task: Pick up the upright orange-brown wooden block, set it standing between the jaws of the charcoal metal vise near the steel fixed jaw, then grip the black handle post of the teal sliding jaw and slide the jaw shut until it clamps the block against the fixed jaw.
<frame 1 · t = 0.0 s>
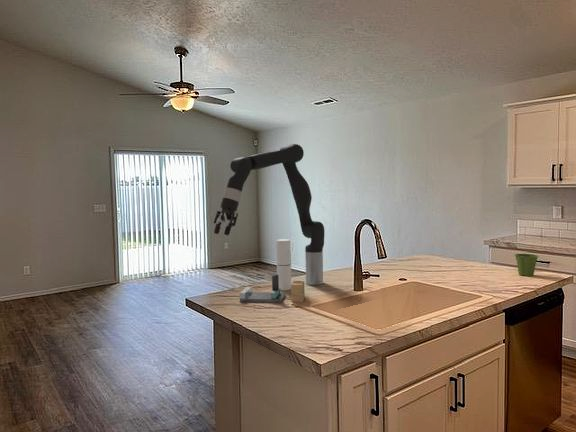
hand: (221, 234, 192), 31 cm above the counter, tool tilted 20°, fingers open, 8 cm apart
block: (298, 299, 199), on the counter
cylindrical container: (284, 289, 220), on the counter
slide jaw: (275, 285, 200), point 7 cm above the counter, slide at 0.0 cm
vise: (266, 298, 201), on the counter
plant pot: (525, 275, 241), on the counter
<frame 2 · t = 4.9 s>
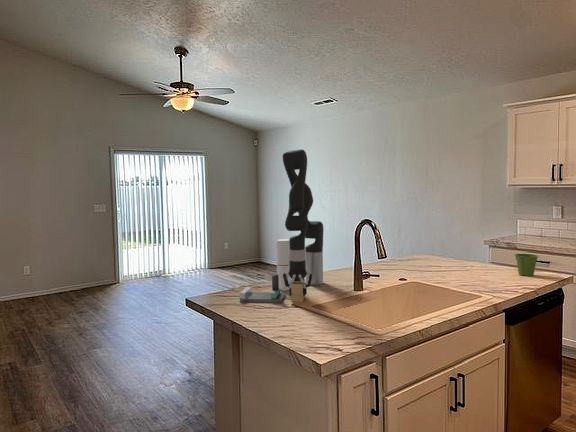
hand: (298, 295, 199), 2 cm above the counter, tool pointing down, fingers closed on block, 5 cm apart
block: (298, 299, 199), on the counter, touching gripper
everything else where it was.
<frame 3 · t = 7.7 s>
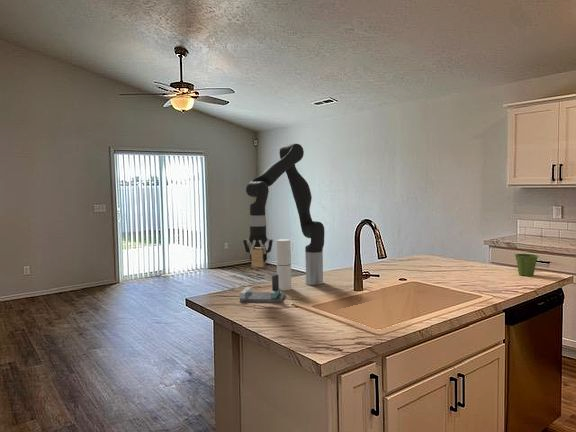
hand: (258, 261, 200), 18 cm above the counter, tool pointing down, fingers closed on block, 5 cm apart
block: (258, 265, 200), point 16 cm above the counter, touching gripper
everything else where it was.
when the fingers open (5 cm above the counter, at t = 10.8 s): block drops 1 cm, resting on vise.
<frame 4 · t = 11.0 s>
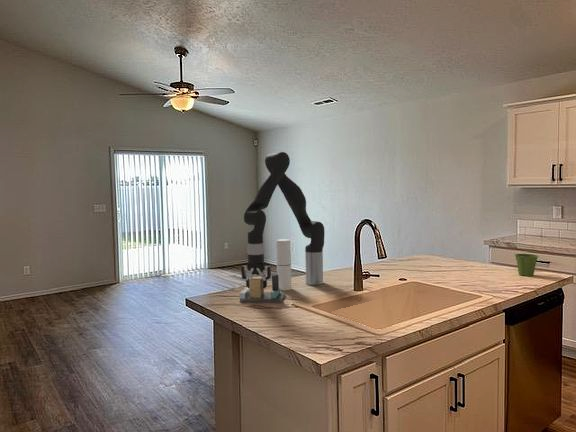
hand: (256, 287, 202), 5 cm above the counter, tool pointing down, fingers open, 7 cm apart
block: (256, 295, 202), point 1 cm above the counter, touching vise
everything else where it was.
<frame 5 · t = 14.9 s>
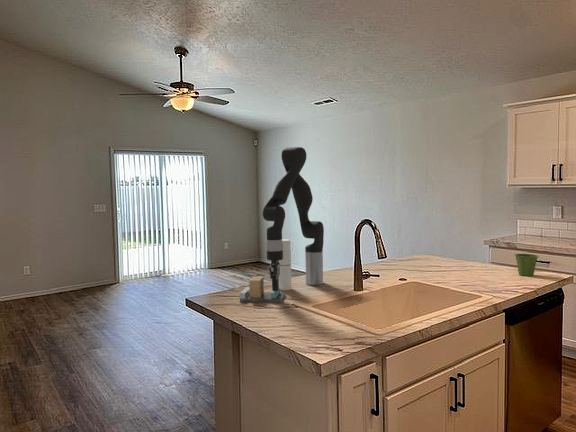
hand: (275, 286, 200), 6 cm above the counter, tool pointing down, fingers closed on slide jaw, 3 cm apart
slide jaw: (275, 285, 200), point 7 cm above the counter, slide at 0.0 cm, touching gripper
everything else where it was.
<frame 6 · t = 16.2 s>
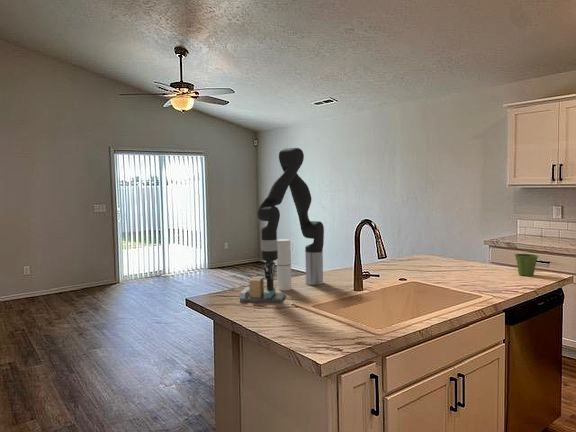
hand: (270, 285, 201), 6 cm above the counter, tool pointing down, fingers closed on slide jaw, 3 cm apart
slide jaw: (270, 285, 201), point 7 cm above the counter, slide at 2.4 cm, touching gripper
everything else where it was.
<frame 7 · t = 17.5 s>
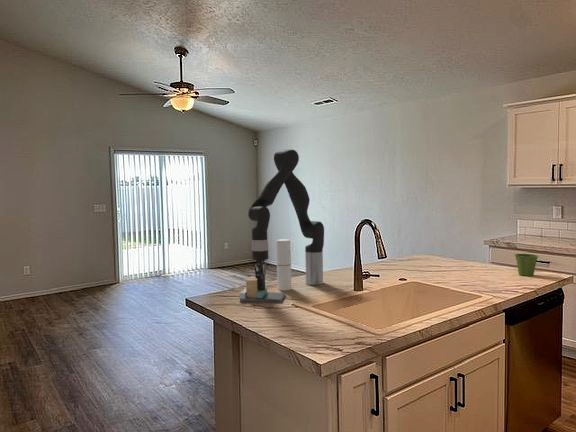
hand: (261, 285, 201), 6 cm above the counter, tool pointing down, fingers open, 3 cm apart
block: (253, 295, 202), point 2 cm above the counter, touching gripper, vise
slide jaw: (261, 284, 201), point 7 cm above the counter, slide at 6.4 cm
everything else where it was.
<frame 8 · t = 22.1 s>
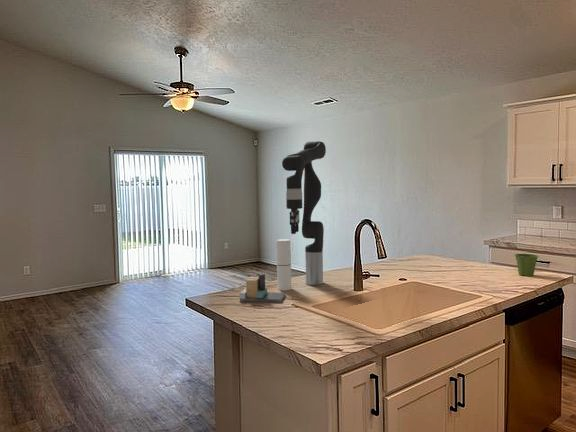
hand: (294, 232, 204), 30 cm above the counter, tool pointing down, fingers open, 8 cm apart
block: (253, 295, 202), point 1 cm above the counter, touching vise
everything else where it was.
at the end: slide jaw slide at 6.4 cm; block 0.1 cm from the target spot on the vise, point 1.5 cm above the vise's base; block tilted 0° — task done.
